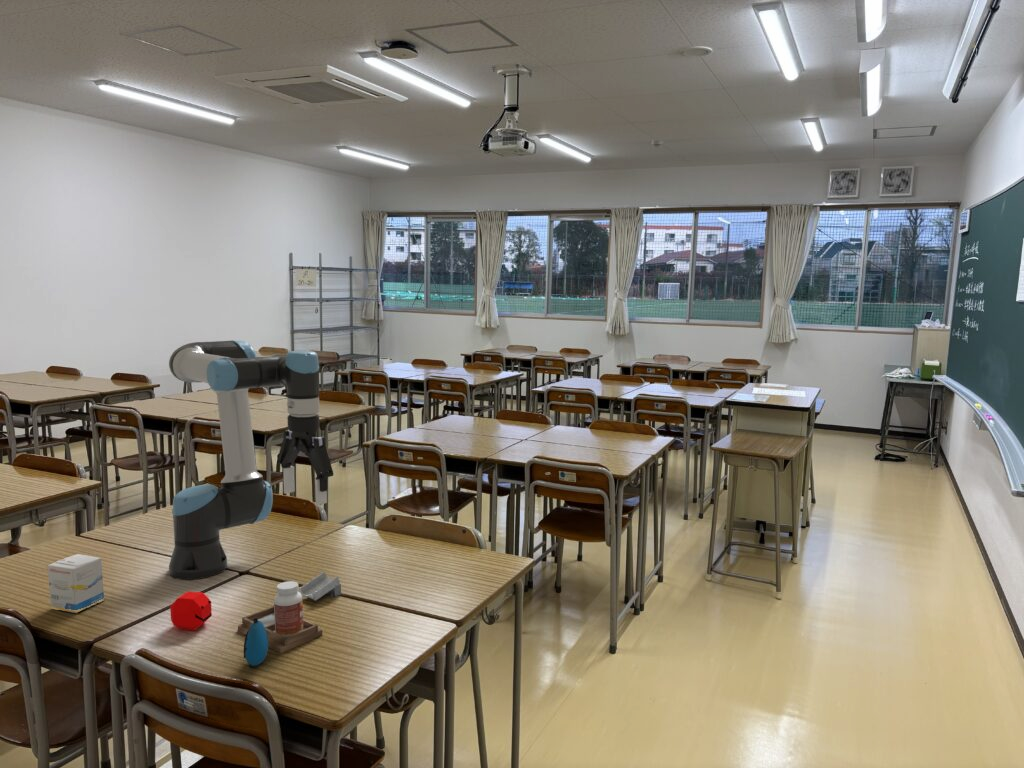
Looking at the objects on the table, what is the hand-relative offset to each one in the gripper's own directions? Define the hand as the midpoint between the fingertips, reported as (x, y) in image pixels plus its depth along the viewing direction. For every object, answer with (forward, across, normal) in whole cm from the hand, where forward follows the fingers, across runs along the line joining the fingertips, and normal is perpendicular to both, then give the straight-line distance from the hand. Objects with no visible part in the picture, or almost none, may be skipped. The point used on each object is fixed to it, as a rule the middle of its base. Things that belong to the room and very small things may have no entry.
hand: (305, 498), depth 178 cm
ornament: (+27, +18, -25) cm, 41 cm away
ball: (+28, -9, -25) cm, 39 cm away
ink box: (+28, -42, -38) cm, 63 cm away
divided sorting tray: (+27, +10, -14) cm, 32 cm away
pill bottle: (+26, +13, -14) cm, 32 cm away
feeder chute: (+27, 0, +4) cm, 28 cm away
